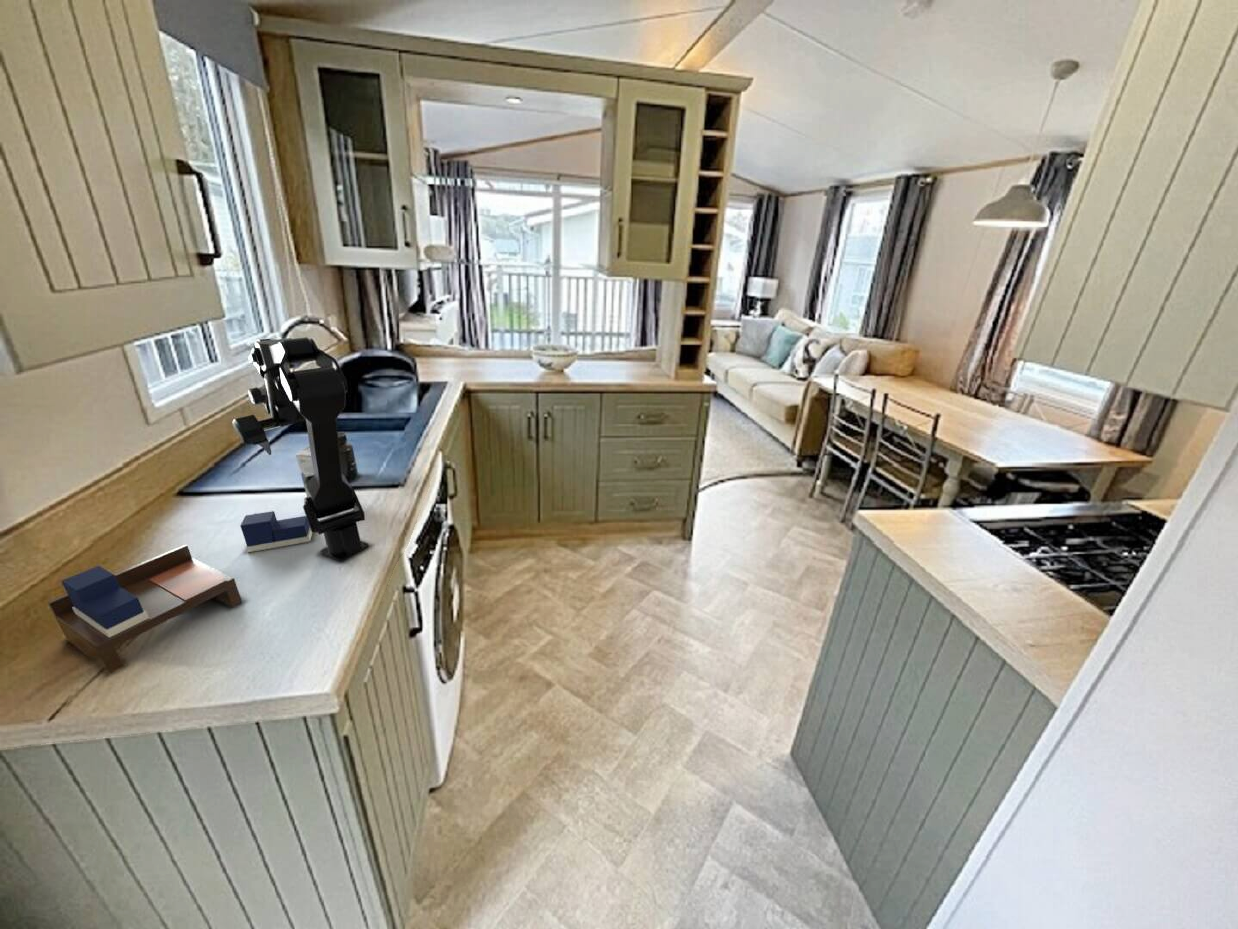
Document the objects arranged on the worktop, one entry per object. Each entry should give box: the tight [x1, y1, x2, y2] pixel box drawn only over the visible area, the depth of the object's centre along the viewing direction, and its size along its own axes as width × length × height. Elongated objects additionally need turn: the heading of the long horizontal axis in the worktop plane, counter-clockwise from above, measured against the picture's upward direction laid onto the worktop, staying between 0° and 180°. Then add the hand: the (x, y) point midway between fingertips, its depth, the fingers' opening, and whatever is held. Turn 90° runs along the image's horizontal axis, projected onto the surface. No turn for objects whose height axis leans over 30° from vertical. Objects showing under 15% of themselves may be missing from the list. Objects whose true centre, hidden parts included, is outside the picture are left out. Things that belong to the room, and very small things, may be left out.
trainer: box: [239, 510, 313, 553], centre depth 106 cm, size 11×5×6 cm, turn 112°
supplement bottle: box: [337, 431, 359, 483], centre depth 132 cm, size 7×7×12 cm
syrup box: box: [295, 445, 314, 496], centre depth 117 cm, size 6×6×14 cm
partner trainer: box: [60, 565, 149, 638], centre depth 77 cm, size 11×5×6 cm, turn 62°
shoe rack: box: [46, 544, 243, 674], centre depth 83 cm, size 14×18×7 cm
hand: (291, 447), depth 118 cm, fingers open, 9 cm apart
